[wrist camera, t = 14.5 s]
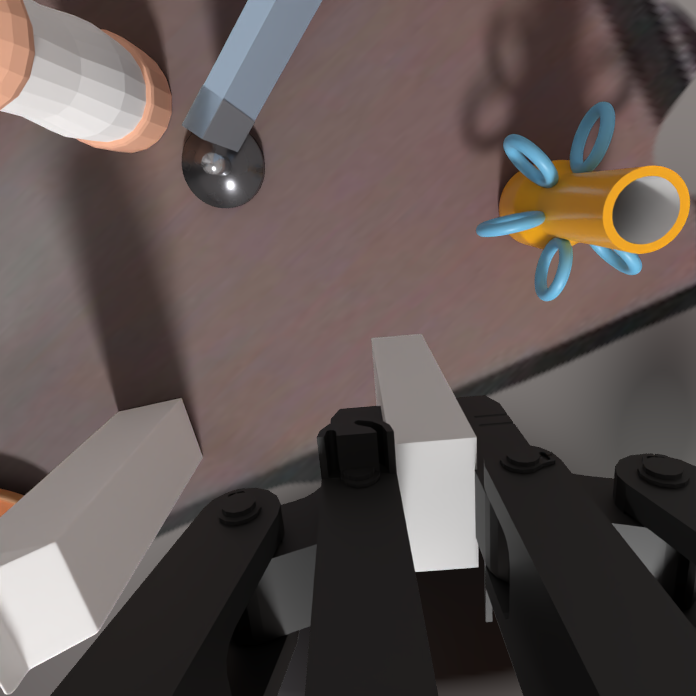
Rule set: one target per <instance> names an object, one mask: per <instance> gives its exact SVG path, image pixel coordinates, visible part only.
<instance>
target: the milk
mask: <svg viewBox="0 0 696 696" xmlns="http://www.w3.org/2000/svg"><path fill="white" fill-rule="evenodd" d="M202 458H203V456H202V453H201V450H200V448H199V445H198V442H197V439H196V437H195V434H194V431H193V428H192V425H191V423H190V420H189V417H188V414H187V411H186V409H185V406H184V403H183V400H182V398H179V399H174V400H169V401H165V402H160V403H156V404H151V405H147V406H142V407H138V408H133V409H128V410H124V411H119V412H117V413H116V414H115V415H114V416H113V417H112V418H111V419H110V420H108V421H107V422H106V423H105V424H104V425H103V426H102V427H101V428H99V429H98V430H97V431H96V432H95V433H94V434H93V435H92V436H91V437H89V438H88V439H87V440H86V441H85V442H84V443H83V444H82V445H81V446H79V447H78V448H77V449H76V450H75V451H74V452H73V453H72V454H70V455H69V456H68V457H67V458H66V459H65V460H64V461H63V462H62V463H60V464H59V465H58V466H57V467H56V468H55V469H54V470H53V471H51V472H50V473H49V474H48V475H47V476H46V477H45V478H44V479H43V480H41V481H40V482H39V483H38V484H37V485H36V486H35V487H34V488H32V489H31V490H30V491H29V492H28V493H27V494H26V495H25V496H24V497H22V498H21V499H20V500H19V501H18V502H17V503H16V504H15V505H13V506H12V507H11V508H10V509H9V510H8V511H7V512H6V513H5V514H3V515H2V516H1V517H0V686H1V688H2V690H3V692H4V693H5V694H11V693H13V691H14V690H15V689H16V688H17V686H18V685H19V683H20V682H21V681H22V679H23V678H24V676H25V675H26V674H27V672H28V671H29V670H30V669H31V668H33V667H35V666H37V665H39V664H41V663H43V662H44V661H46V660H48V659H50V658H52V657H54V656H56V655H57V654H59V653H61V652H63V651H65V650H67V649H69V648H70V647H72V646H74V645H76V644H78V643H79V642H82V641H83V640H85V639H87V638H89V637H91V636H93V635H95V634H96V633H97V632H98V631H99V630H100V628H101V627H102V625H103V623H104V622H105V620H106V618H107V617H108V615H109V613H110V612H111V610H112V608H113V607H114V605H115V603H116V602H117V600H118V598H119V597H120V595H121V593H122V592H123V590H124V588H125V587H126V585H127V583H128V582H129V580H130V578H131V577H132V575H133V573H134V572H135V570H136V568H137V567H138V565H139V563H140V562H141V560H142V558H143V557H144V555H145V553H146V552H147V550H148V548H149V547H150V545H151V543H152V542H153V540H154V538H155V536H156V535H157V533H158V531H159V530H160V528H161V526H162V525H163V523H164V521H165V520H166V518H167V516H168V515H169V513H170V511H171V510H172V508H173V506H174V505H175V503H176V501H177V500H178V498H179V496H180V495H181V493H182V491H183V490H184V488H185V486H186V485H187V483H188V481H189V480H190V478H191V476H192V475H193V473H194V471H195V470H196V468H197V466H198V465H199V463H200V461H201V460H202Z"/></svg>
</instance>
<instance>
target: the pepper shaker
mask: <svg viewBox="0 0 696 696" xmlns="http://www.w3.org/2000/svg"><path fill="white" fill-rule="evenodd" d="M0 111H3V112H7V113H11V114H15V115H19V116H22V117H24V118H26V119H28V120H30V121H32V122H34V123H36V124H38V125H40V126H42V127H44V128H46V129H48V130H51V131H53V132H55V133H58V134H60V135H62V136H65V137H71V138H76V139H77V140H79V141H81V142H83V143H85V144H88V145H90V146H92V147H95V148H100V149H106V150H111V151H116V152H127V153H134V152H138V151H142V150H146V149H147V148H149V147H150V146H152V145H153V144H155V143H156V142H157V141H159V139H160V138H161V136H162V135H163V134H164V132H165V131H166V129H167V127H168V124H169V120H170V117H171V114H172V95H171V92H170V89H169V85H168V82H167V79H166V77H165V75H164V74H163V72H162V71H161V69H160V68H159V66H158V64H157V63H156V62H155V61H154V60H153V59H151V58H150V57H149V56H148V55H147V54H146V53H145V52H144V51H142V50H141V49H139V48H138V47H136V46H135V45H133V44H132V43H130V42H129V41H127V40H126V39H124V38H123V37H121V36H118V35H116V34H114V33H112V32H110V31H108V30H104V29H99V28H98V27H96V26H95V25H93V24H92V23H90V22H88V21H86V20H83V19H81V18H79V17H77V16H75V15H72V14H68V13H65V12H62V11H59V10H56V9H52V8H49V7H46V6H43V5H40V4H38V3H37V2H35V1H33V0H0Z"/></svg>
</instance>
